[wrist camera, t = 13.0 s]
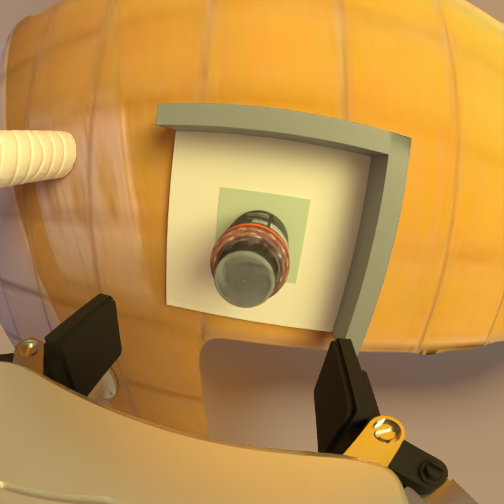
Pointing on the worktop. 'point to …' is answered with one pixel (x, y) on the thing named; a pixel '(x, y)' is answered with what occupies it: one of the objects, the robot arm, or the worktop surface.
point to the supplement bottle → (251, 259)
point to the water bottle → (35, 156)
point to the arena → (285, 209)
